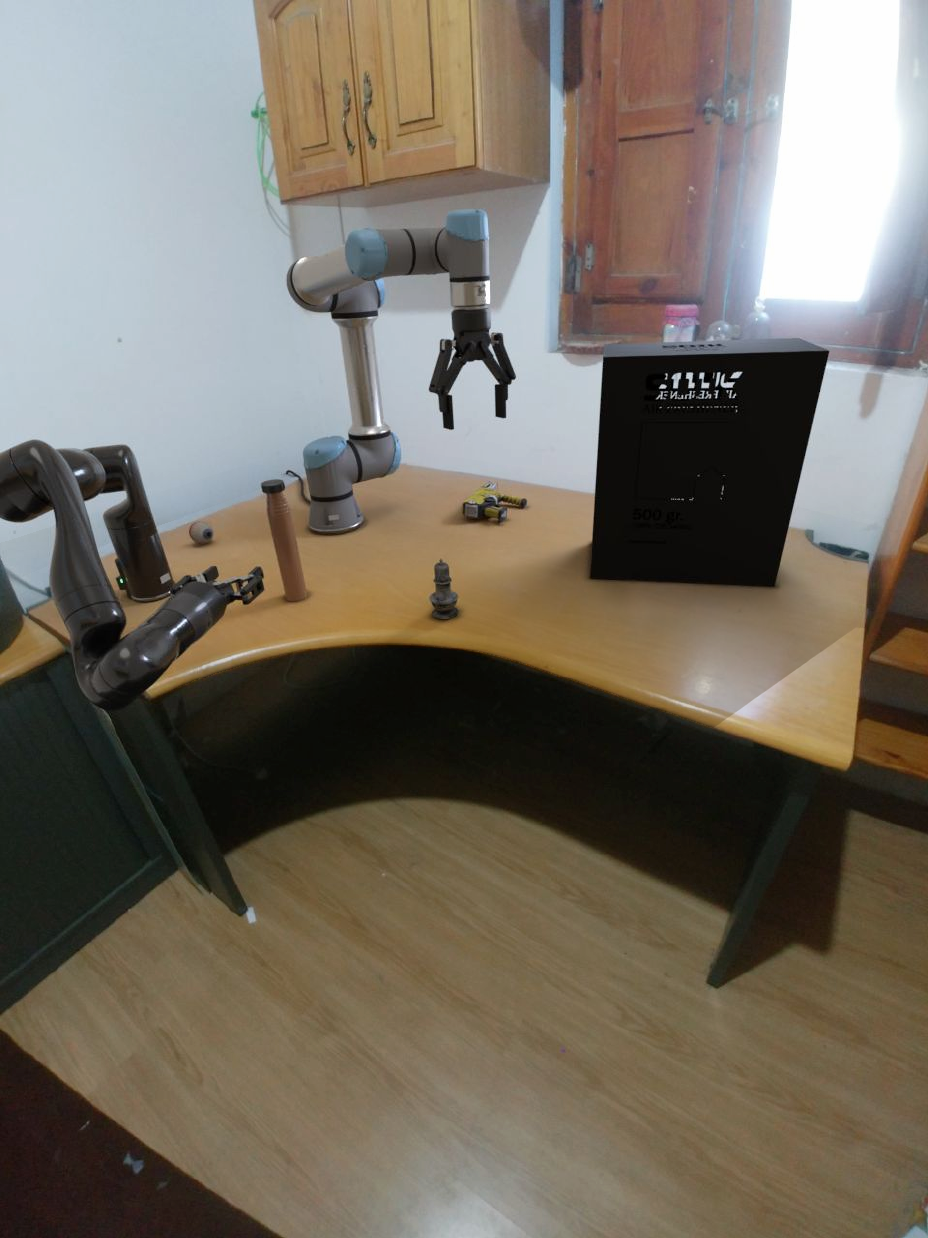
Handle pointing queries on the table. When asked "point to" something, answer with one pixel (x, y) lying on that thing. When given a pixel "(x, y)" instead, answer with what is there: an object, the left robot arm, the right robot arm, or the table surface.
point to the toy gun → (489, 503)
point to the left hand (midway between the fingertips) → (237, 570)
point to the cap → (273, 486)
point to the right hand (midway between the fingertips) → (475, 422)
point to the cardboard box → (701, 458)
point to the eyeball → (201, 532)
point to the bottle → (286, 546)
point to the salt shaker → (443, 593)
